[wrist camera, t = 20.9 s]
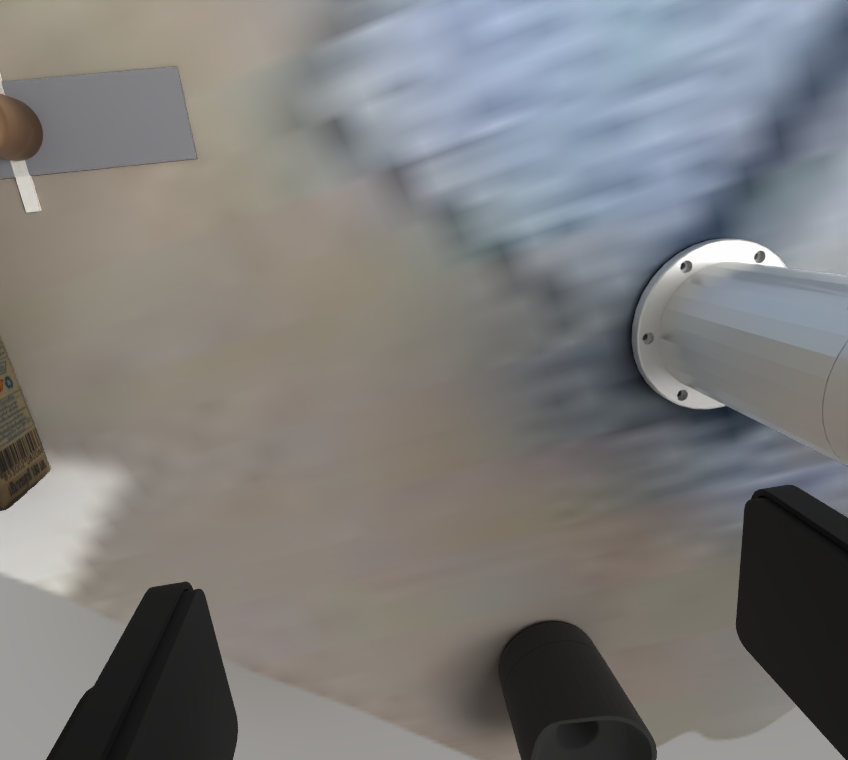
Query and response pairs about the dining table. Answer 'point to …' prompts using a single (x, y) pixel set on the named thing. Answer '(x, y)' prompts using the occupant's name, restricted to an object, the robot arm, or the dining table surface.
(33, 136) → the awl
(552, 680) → the pen holder
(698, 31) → the dining table surface
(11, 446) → the beverage carton
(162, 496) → the dining table surface
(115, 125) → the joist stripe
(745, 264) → the robot arm
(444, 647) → the dining table surface
